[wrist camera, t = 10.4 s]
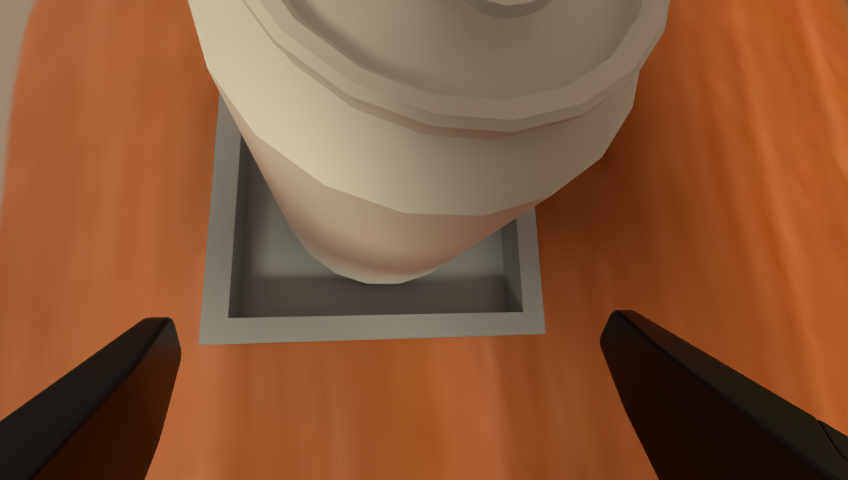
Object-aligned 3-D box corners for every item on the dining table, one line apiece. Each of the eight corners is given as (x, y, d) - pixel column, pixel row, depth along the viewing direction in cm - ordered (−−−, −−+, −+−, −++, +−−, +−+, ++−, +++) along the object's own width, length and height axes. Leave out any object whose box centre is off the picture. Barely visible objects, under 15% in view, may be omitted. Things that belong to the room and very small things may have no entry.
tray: (520, 333, 17) (545, 333, 15) (218, 342, 15) (198, 344, 13) (502, 81, 20) (521, 50, 17) (239, 57, 17) (225, 19, 15)
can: (419, 84, 18) (556, -353, 6) (502, 236, 17) (824, 49, 6) (250, 147, 16) (16, -317, 5) (336, 322, 15) (318, 300, 4)
